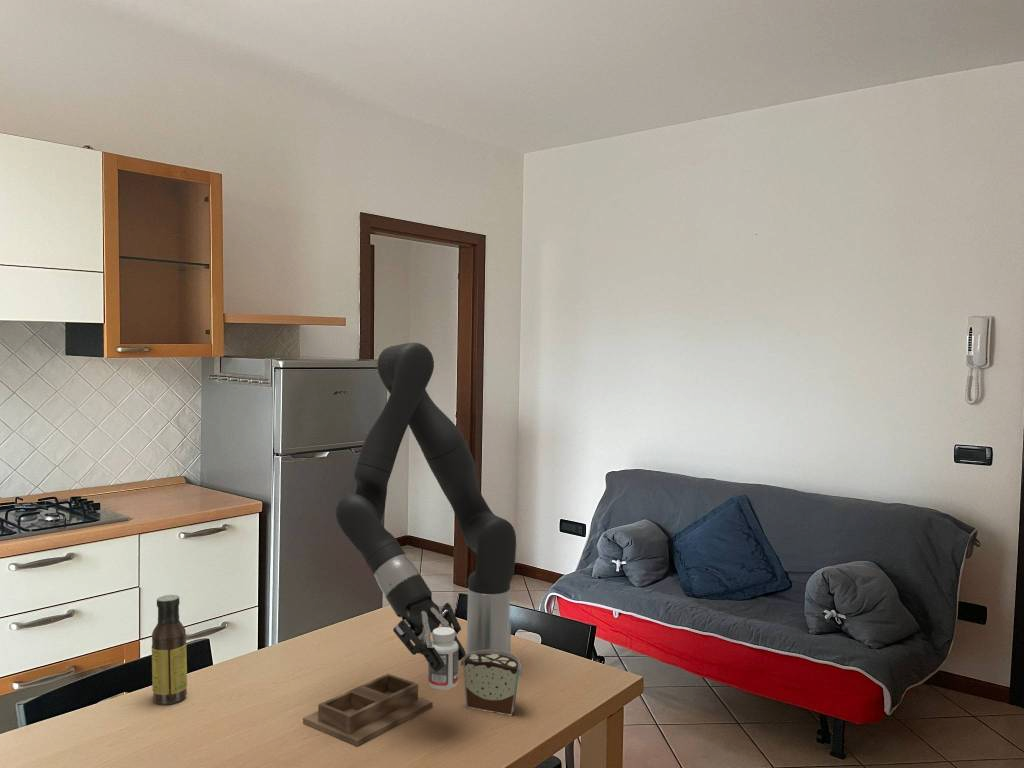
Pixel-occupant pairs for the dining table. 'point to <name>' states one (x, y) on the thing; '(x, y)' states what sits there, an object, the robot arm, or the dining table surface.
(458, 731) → the dining table surface
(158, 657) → the sauce bottle
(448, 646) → the pill bottle
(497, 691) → the food container
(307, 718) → the walnut organizer
